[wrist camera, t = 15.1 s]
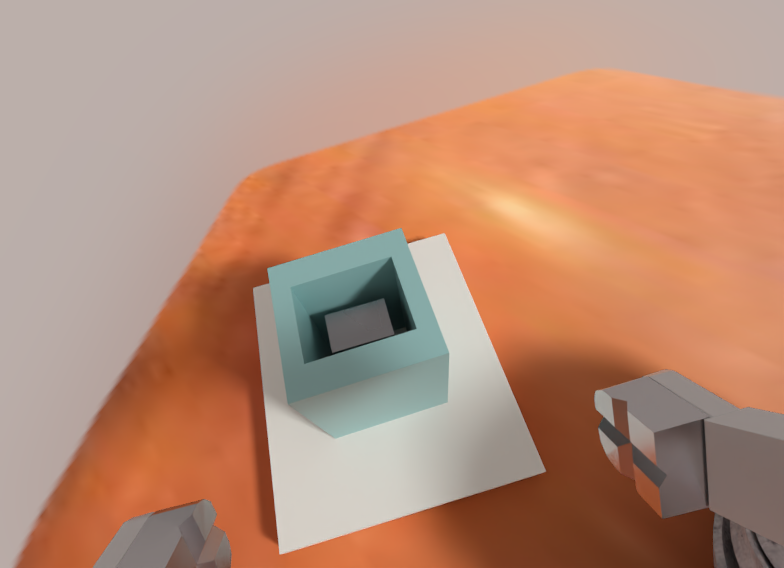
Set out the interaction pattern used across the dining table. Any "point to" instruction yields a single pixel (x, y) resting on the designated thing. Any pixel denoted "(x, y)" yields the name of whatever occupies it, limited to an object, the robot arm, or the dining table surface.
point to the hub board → (397, 429)
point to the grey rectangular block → (358, 326)
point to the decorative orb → (743, 547)
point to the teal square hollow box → (365, 363)
